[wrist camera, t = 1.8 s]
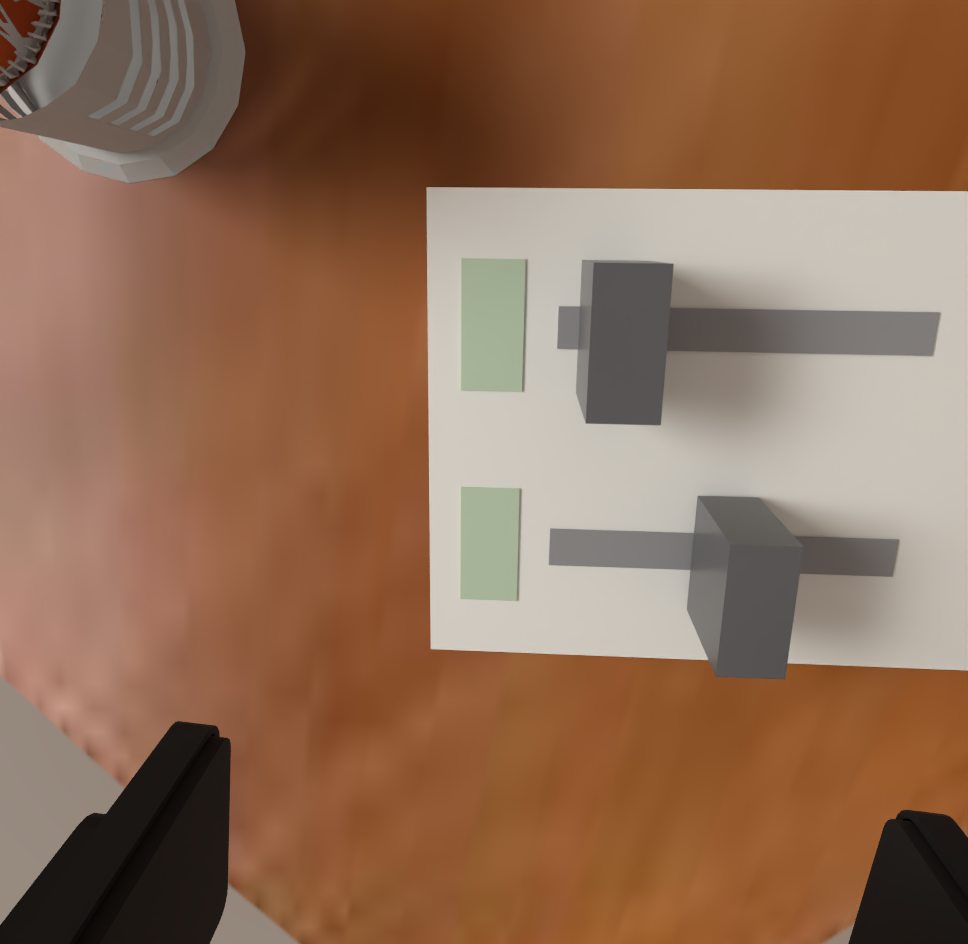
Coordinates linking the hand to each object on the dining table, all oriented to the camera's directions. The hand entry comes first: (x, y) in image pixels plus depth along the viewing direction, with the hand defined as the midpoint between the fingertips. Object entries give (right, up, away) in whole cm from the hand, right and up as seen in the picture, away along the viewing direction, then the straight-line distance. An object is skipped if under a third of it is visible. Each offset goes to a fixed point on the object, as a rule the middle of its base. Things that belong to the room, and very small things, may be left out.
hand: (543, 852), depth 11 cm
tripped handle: (+9, +2, +20) cm, 22 cm away
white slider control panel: (+9, +7, +21) cm, 24 cm away
